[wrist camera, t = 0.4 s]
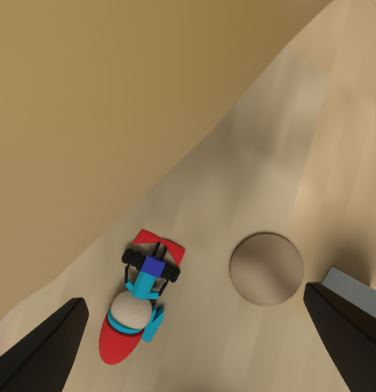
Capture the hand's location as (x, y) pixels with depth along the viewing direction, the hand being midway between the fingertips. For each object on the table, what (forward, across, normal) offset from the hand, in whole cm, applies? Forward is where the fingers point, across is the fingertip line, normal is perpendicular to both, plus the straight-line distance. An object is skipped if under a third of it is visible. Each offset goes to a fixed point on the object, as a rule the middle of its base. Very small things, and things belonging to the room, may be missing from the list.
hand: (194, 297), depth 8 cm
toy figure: (+13, +7, +13) cm, 20 cm away
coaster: (+13, -9, +11) cm, 19 cm away
